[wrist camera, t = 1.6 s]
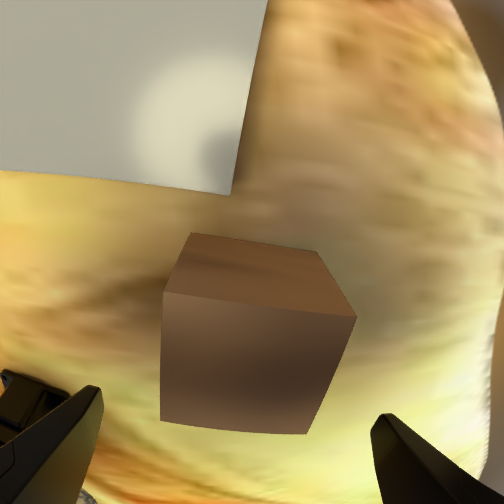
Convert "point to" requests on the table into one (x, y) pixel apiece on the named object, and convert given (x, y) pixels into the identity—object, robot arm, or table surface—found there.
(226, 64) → the tile
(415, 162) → the table surface
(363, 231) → the table surface
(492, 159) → the table surface
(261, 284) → the cube
